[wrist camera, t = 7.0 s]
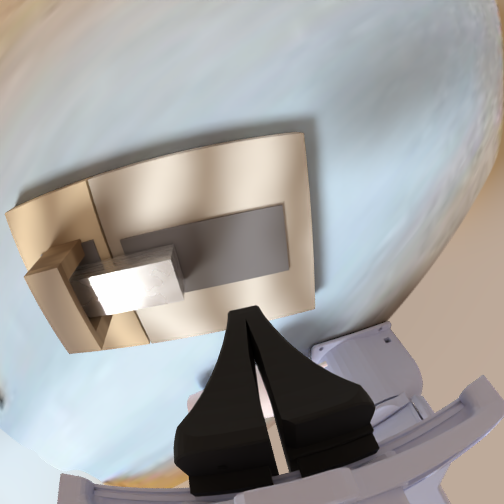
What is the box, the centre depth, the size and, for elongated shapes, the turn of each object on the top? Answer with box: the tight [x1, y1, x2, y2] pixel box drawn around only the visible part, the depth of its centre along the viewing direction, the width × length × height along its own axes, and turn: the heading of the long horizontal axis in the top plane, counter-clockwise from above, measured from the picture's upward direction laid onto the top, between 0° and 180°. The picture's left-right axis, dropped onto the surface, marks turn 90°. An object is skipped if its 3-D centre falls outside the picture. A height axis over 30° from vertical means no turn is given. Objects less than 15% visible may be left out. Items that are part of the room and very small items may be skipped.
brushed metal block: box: [69, 244, 185, 318], centre depth 17 cm, size 9×3×2 cm, turn 99°
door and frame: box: [5, 132, 315, 354], centre depth 18 cm, size 22×14×6 cm, turn 98°
